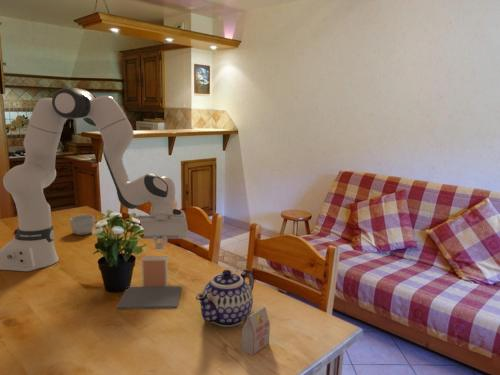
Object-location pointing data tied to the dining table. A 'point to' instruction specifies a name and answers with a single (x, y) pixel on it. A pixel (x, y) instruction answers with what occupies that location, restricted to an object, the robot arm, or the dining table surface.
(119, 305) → the slate mat
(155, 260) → the ceramic tile
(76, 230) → the teacup
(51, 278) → the dining table surface
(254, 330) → the grey gable-top carton
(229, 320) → the teapot
